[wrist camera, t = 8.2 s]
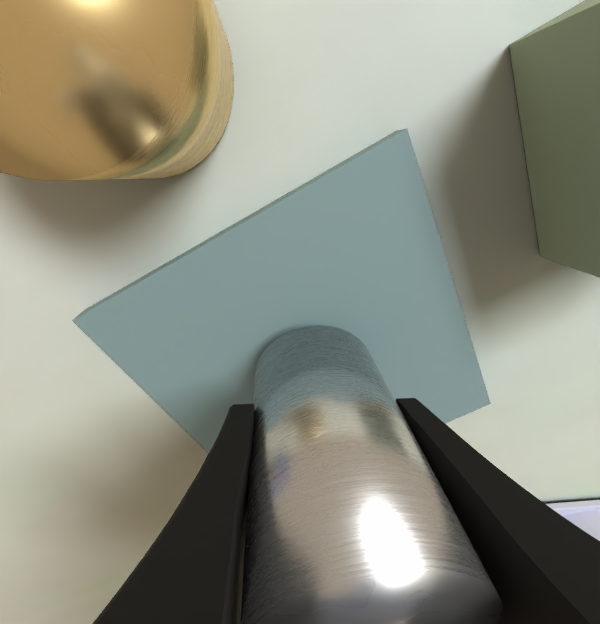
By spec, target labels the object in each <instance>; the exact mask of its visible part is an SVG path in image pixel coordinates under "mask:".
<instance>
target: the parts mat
mask: <svg viewBox="0 0 600 624" xmlns="http://www.w3.org/2000/svg"><path fill="white" fill-rule="evenodd" d="M72 321H73V322H74V323H75V324H76V325H77V326H78V327H79V328H80V329H81V330H82V331H83V332H84V333H85V334H86V335H87V336H88V337H90V338H91V339H92V340H93V341H94V342H95V343H96V344H97V345H98V346H99V347H100V348H101V349H102V350H103V351H104V352H105V353H106V354H107V355H108V356H109V357H110V358H111V359H112V360H113V361H114V362H115V363H116V364H117V365H118V366H119V367H120V368H121V369H122V370H123V371H124V372H125V373H126V374H127V375H128V376H130V377H131V378H132V379H133V380H134V381H135V382H136V383H137V384H138V385H139V386H140V387H141V388H142V389H143V390H144V391H145V392H146V393H147V394H148V395H149V396H150V397H151V398H152V399H153V400H154V401H155V402H156V403H157V404H158V405H159V406H160V407H161V408H162V409H163V410H164V411H165V412H166V413H167V414H168V415H170V416H171V417H172V418H173V419H174V420H175V421H176V422H177V423H178V424H179V425H180V426H181V427H182V428H183V429H184V430H185V431H186V432H187V433H188V434H189V435H190V436H191V437H192V438H193V439H194V440H195V441H196V442H197V443H198V444H199V445H200V446H201V447H202V448H203V449H204V450H205V451H206V452H207V453H208V454H209V452H210V450H211V449H212V447H213V445H214V443H215V441H216V439H217V437H218V434H219V432H220V430H221V428H222V426H223V423H224V421H225V419H226V416H227V414H228V411H229V408H230V407H231V406H232V405H233V404H253V394H254V377H255V370H256V366H257V363H258V360H259V359H260V357H261V355H262V353H263V352H264V351H265V350H266V348H267V347H268V346H269V345H270V344H271V343H272V342H274V341H275V340H276V339H277V338H279V337H280V336H282V335H284V334H286V333H288V332H290V331H292V330H295V329H298V328H302V327H307V326H315V325H324V326H332V327H337V328H340V329H343V330H345V331H348V332H350V333H351V334H353V335H355V336H356V337H357V338H359V339H360V340H361V341H362V342H363V343H364V345H365V346H366V347H367V349H368V350H369V352H370V354H371V356H372V358H373V360H374V362H375V363H376V365H377V367H378V369H379V371H380V373H381V375H382V377H383V378H384V380H385V382H386V384H387V386H388V388H389V390H390V392H391V393H392V395H393V397H394V399H395V401H396V399H397V398H416V399H417V400H418V401H420V402H421V403H422V404H423V405H424V406H425V407H427V408H428V409H429V410H430V411H431V412H432V413H433V414H435V415H436V416H437V417H438V418H439V419H440V420H441V421H442V422H444V423H447V422H449V421H452V420H454V419H456V418H459V417H461V416H463V415H466V414H468V413H470V412H473V411H475V410H477V409H480V408H482V407H484V406H487V405H489V404H491V403H490V400H489V397H488V394H487V390H486V387H485V384H484V380H483V377H482V374H481V370H480V367H479V364H478V361H477V357H476V354H475V351H474V347H473V344H472V341H471V338H470V334H469V331H468V328H467V324H466V321H465V318H464V314H463V311H462V308H461V305H460V301H459V298H458V295H457V291H456V288H455V285H454V282H453V278H452V275H451V272H450V268H449V265H448V262H447V259H446V255H445V252H444V249H443V245H442V242H441V239H440V235H439V232H438V229H437V226H436V222H435V219H434V216H433V212H432V209H431V206H430V203H429V199H428V196H427V193H426V189H425V186H424V183H423V179H422V176H421V173H420V170H419V166H418V163H417V160H416V156H415V153H414V150H413V147H412V143H411V140H410V137H409V133H408V130H407V129H403V130H398V131H395V132H394V133H392V134H390V135H388V136H387V137H385V138H383V139H381V140H380V141H378V142H376V143H374V144H373V145H371V146H369V147H367V148H366V149H364V150H362V151H361V152H359V153H357V154H355V155H354V156H352V157H350V158H348V159H347V160H345V161H343V162H341V163H340V164H338V165H336V166H334V167H333V168H331V169H329V170H327V171H326V172H324V173H322V174H321V175H319V176H317V177H315V178H314V179H312V180H310V181H308V182H307V183H305V184H303V185H301V186H300V187H298V188H296V189H294V190H293V191H291V192H289V193H287V194H286V195H284V196H282V197H281V198H279V199H277V200H275V201H274V202H272V203H270V204H268V205H267V206H265V207H263V208H261V209H260V210H258V211H256V212H254V213H253V214H251V215H249V216H247V217H246V218H244V219H242V220H240V221H239V222H237V223H235V224H234V225H232V226H230V227H228V228H227V229H225V230H223V231H221V232H220V233H218V234H216V235H214V236H213V237H211V238H209V239H207V240H206V241H204V242H202V243H200V244H199V245H197V246H195V247H194V248H192V249H190V250H188V251H187V252H185V253H183V254H181V255H180V256H178V257H176V258H174V259H173V260H171V261H169V262H167V263H166V264H164V265H162V266H160V267H159V268H157V269H155V270H154V271H152V272H150V273H148V274H147V275H145V276H143V277H141V278H140V279H138V280H136V281H134V282H133V283H131V284H129V285H127V286H126V287H124V288H122V289H120V290H119V291H117V292H115V293H114V294H112V295H110V296H108V297H107V298H105V299H103V300H101V301H100V302H98V303H96V304H94V305H93V306H91V307H89V308H87V309H86V310H84V311H83V312H82V313H81V314H79V315H78V316H77V317H76V318H75V319H73V320H72Z"/></svg>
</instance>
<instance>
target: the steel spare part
mask: <svg viewBox="0 0 600 624" xmlns="http://www.w3.org/2000/svg"><path fill="white" fill-rule="evenodd" d="M253 404H254V429H253V442H252V451H251V461H250V470H249V482H248V499H247V517H246V534H245V552H244V569H243V586H242V604H241V621H240V624H499V622H500V621H501V617H502V614H503V604H502V601H501V598H500V596H499V594H498V593H497V591H496V589H495V587H494V585H493V583H492V581H491V579H490V578H489V576H488V574H487V572H486V570H485V568H484V566H483V564H482V563H481V561H480V559H479V557H478V555H477V553H476V551H475V549H474V548H473V546H472V544H471V542H470V540H469V538H468V536H467V534H466V532H465V531H464V529H463V527H462V525H461V523H460V521H459V519H458V517H457V516H456V514H455V512H454V510H453V508H452V506H451V504H450V502H449V501H448V499H447V497H446V495H445V493H444V491H443V489H442V487H441V486H440V484H439V482H438V480H437V478H436V476H435V474H434V472H433V470H432V469H431V467H430V465H429V463H428V461H427V459H426V457H425V455H424V454H423V452H422V450H421V448H420V446H419V444H418V442H417V440H416V439H415V437H414V435H413V433H412V431H411V429H410V427H409V425H408V424H407V422H406V420H405V418H404V416H403V414H402V412H401V410H400V408H399V407H398V405H397V403H396V401H395V399H394V397H393V395H392V393H391V392H390V390H389V388H388V386H387V384H386V382H385V380H384V378H383V377H382V375H381V373H380V371H379V369H378V367H377V365H376V363H375V362H374V360H373V358H372V356H371V354H370V352H369V350H368V349H367V347H366V346H365V345H364V343H363V342H362V341H361V340H360V339H359V338H357V337H356V336H355V335H353V334H351V333H350V332H348V331H345V330H343V329H340V328H337V327H332V326H324V325H315V326H307V327H302V328H298V329H295V330H292V331H290V332H288V333H286V334H284V335H282V336H280V337H279V338H277V339H276V340H275V341H274V342H272V343H271V344H270V345H269V346H268V347H267V348H266V350H265V351H264V352H263V353H262V355H261V357H260V359H259V360H258V363H257V366H256V370H255V377H254V394H253Z"/></svg>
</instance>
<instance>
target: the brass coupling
mask: <svg viewBox="0 0 600 624" xmlns="http://www.w3.org/2000/svg"><path fill="white" fill-rule="evenodd" d="M233 94H234V74H233V63H232V57H231V52H230V47H229V44H228V40H227V37H226V34H225V30H224V28H223V25H222V23H221V20H220V17H219V15H218V12H217V9H216V7H215V4H214V1H213V0H0V172H2V173H6V174H10V175H14V176H19V177H23V178H30V179H38V180H98V179H152V178H165V177H171V176H174V175H178V174H181V173H183V172H185V171H187V170H189V169H191V168H193V167H194V166H196V165H197V164H199V163H200V162H201V161H202V160H203V159H204V158H206V157H207V156H208V155H209V154H210V152H211V151H212V150H213V149H214V147H215V146H216V145H217V143H218V141H219V140H220V138H221V136H222V134H223V132H224V130H225V127H226V125H227V123H228V119H229V116H230V112H231V108H232V101H233Z"/></svg>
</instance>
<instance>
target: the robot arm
mask: <svg viewBox="0 0 600 624" xmlns="http://www.w3.org/2000/svg"><path fill="white" fill-rule="evenodd" d="M396 403H397V405H398V407H399V408H400V410H401V412H402V414H403V416H404V418H405V420H406V422H407V424H408V425H409V427H410V429H411V431H412V433H413V435H414V437H415V439H416V440H417V442H418V444H419V446H420V448H421V450H422V452H423V454H424V455H425V457H426V459H427V461H428V463H429V465H430V467H431V469H432V470H433V472H434V474H435V476H436V478H437V480H438V482H439V484H440V486H441V487H442V489H443V491H444V493H445V495H446V497H447V499H448V501H449V502H450V504H451V506H452V508H453V510H454V512H455V514H456V516H457V517H458V519H459V521H460V523H461V525H462V527H463V529H464V531H465V532H466V534H467V536H468V538H469V540H470V542H471V544H472V546H473V548H474V549H475V551H476V553H477V555H478V557H479V559H480V561H481V563H482V564H483V566H484V568H485V570H486V572H487V574H488V576H489V578H490V579H491V581H492V583H493V585H494V587H495V589H496V591H497V593H498V594H499V596H500V598H501V601H502V604H503V614H502V617H501V621H500V622H499V624H600V500H589V501H576V502H563V503H550V504H544V503H543V502H541V501H540V500H539V499H537V498H536V497H535V496H533V495H532V494H531V493H529V492H528V491H526V490H525V489H524V488H522V487H521V486H520V485H519V484H517V483H516V482H515V481H513V480H512V479H511V478H510V477H508V476H507V475H506V474H504V473H503V472H502V471H501V470H499V469H498V468H497V467H496V466H494V465H493V464H492V463H491V462H489V461H488V460H487V459H486V458H484V457H483V456H482V455H481V454H480V453H478V452H477V451H476V450H475V449H474V448H472V447H471V446H470V445H469V444H468V443H467V442H465V441H464V440H463V439H462V438H461V437H460V436H458V435H457V434H456V433H455V432H454V431H453V430H452V429H450V428H449V427H448V426H447V425H446V424H445V423H444V422H442V421H441V420H440V419H439V418H438V417H437V416H436V415H435V414H433V413H432V412H431V411H430V410H429V409H428V408H427V407H425V406H424V405H423V404H422V403H421V402H420V401H418V400H417V399H416V398H397V399H396ZM253 429H254V404H233V405H232V406H231V407H230V408H229V411H228V414H227V416H226V419H225V421H224V423H223V426H222V428H221V430H220V432H219V434H218V437H217V439H216V441H215V443H214V445H213V447H212V449H211V450H210V452H209V454H208V456H207V458H206V460H205V462H204V464H203V465H202V467H201V469H200V471H199V473H198V474H197V476H196V478H195V479H194V481H193V483H192V484H191V486H190V488H189V489H188V491H187V493H186V494H185V496H184V498H183V499H182V501H181V503H180V504H179V506H178V507H177V509H176V510H175V512H174V514H173V515H172V517H171V518H170V520H169V521H168V523H167V524H166V526H165V527H164V529H163V530H162V532H161V533H160V534H159V536H158V537H157V539H156V540H155V542H154V543H153V544H152V546H151V547H150V549H149V550H148V552H147V553H146V554H145V556H144V557H143V559H142V560H141V561H140V563H139V564H138V565H137V567H136V568H135V569H134V571H133V572H132V573H131V575H130V576H129V577H128V579H127V580H126V581H125V583H124V584H123V585H122V587H121V588H120V589H119V591H118V592H117V593H116V595H115V596H114V597H113V598H112V600H111V601H110V602H109V604H108V605H107V606H106V607H105V609H104V610H103V611H102V613H101V614H100V615H99V616H98V618H97V619H96V620H95V621H94V622H93V624H240V621H241V604H242V586H243V569H244V552H245V534H246V517H247V499H248V482H249V470H250V461H251V451H252V442H253Z"/></svg>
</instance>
